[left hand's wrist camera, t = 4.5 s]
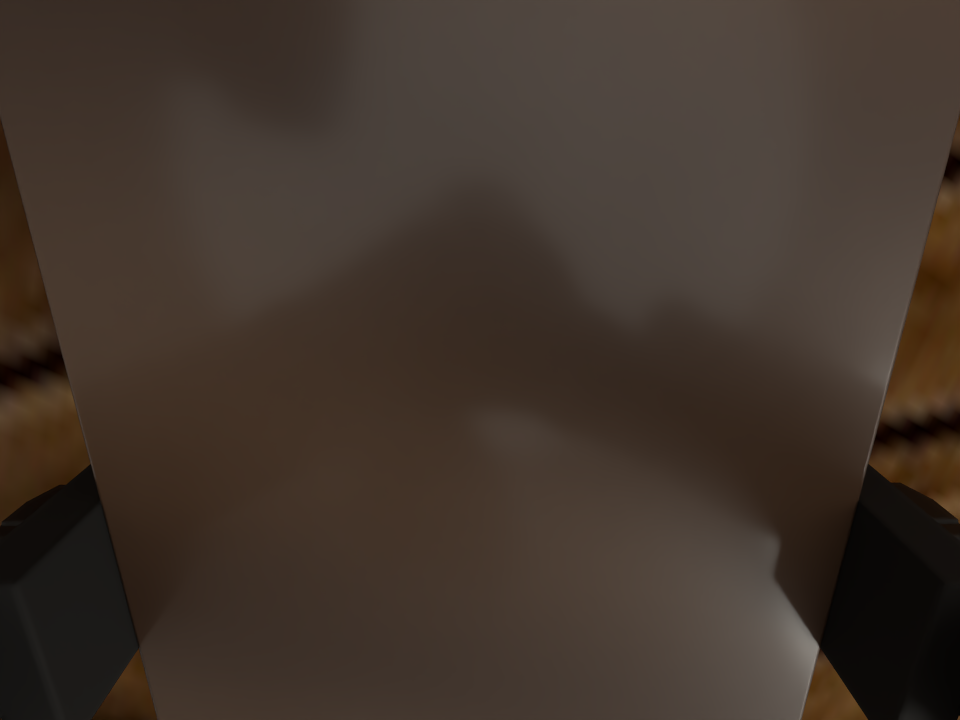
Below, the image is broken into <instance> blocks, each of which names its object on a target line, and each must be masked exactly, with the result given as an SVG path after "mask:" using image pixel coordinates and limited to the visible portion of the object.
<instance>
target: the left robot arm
mask: <svg viewBox="0 0 960 720" xmlns="http://www.w3.org/2000/svg"><path fill="white" fill-rule="evenodd" d="M138 648H139V647H138V643H137V639H136V635H135V631H134V627H133V624H132V620H131V616H130V612H129V608H128V604H127V601H126V597H125V593H124V589H123V585H122V581H121V578H120V574H119V570H118V566H117V562H116V559H115V555H114V551H113V547H112V543H111V539H110V536H109V532H108V528H107V524H106V520H105V516H104V513H103V509H102V505H101V501H100V497H99V494H98V490H97V486H96V482H95V478H94V474H93V471H92V467H91V464H90V465H89V466H88V467H87V468H86V469H84V470H83V471H82V472H81V473H80V474H78V475H77V476H76V477H75V478H74V479H73V480H71V481H70V482H69V483H68V484H67V485H59V486H57V487H55V488H53V489H51V490H49V491H47V492H45V493H43V494H41V495H39V496H37V497H35V498H33V499H31V500H30V501H28V502H26V503H25V504H24V505H22V506H21V507H20V508H19V509H17V510H16V511H15V512H14V513H12V514H11V515H10V516H9V517H7V518H6V519H5V520H4V521H2V525H1V526H0V718H1V719H2V720H91V719H92V717H93V716H94V714H95V713H96V711H97V710H98V708H99V707H100V705H101V704H102V702H103V701H104V699H105V698H106V696H107V695H108V693H109V692H110V690H111V689H112V687H113V686H114V684H115V683H116V681H117V680H118V678H119V677H120V675H121V674H122V672H123V671H124V669H125V668H126V666H127V665H128V663H129V662H130V660H131V659H132V657H133V656H134V654H135V653H136V651H137V650H138ZM820 648H821V649H822V651H823V652H824V654H825V655H826V657H827V658H828V660H829V661H830V663H831V664H832V666H833V667H834V669H835V670H836V672H837V673H838V675H839V676H840V678H841V679H842V681H843V682H844V684H845V685H846V687H847V688H848V690H849V691H850V693H851V694H852V696H853V697H854V699H855V700H856V702H857V703H858V705H859V706H860V708H861V709H862V711H863V712H864V714H865V715H866V717H867V718H868V720H957V719H958V716H960V524H959V523H958V519H957V518H955V517H954V516H953V515H952V514H950V513H949V512H948V511H947V510H945V509H944V508H943V507H942V506H940V505H939V504H938V503H937V502H935V501H934V500H933V499H931V498H929V497H927V496H925V495H923V494H921V493H919V492H917V491H915V490H913V489H911V488H909V487H907V486H905V485H904V484H902V483H890V482H889V481H888V480H887V479H886V478H884V477H883V476H882V475H881V474H880V473H878V472H877V471H876V470H875V469H874V468H873V467H871V466H870V465H869V464H868V466H867V470H866V474H865V478H864V482H863V485H862V489H861V493H860V497H859V501H858V505H857V508H856V512H855V516H854V520H853V524H852V527H851V531H850V535H849V539H848V543H847V547H846V550H845V554H844V558H843V562H842V566H841V570H840V573H839V577H838V581H837V585H836V589H835V593H834V596H833V600H832V604H831V608H830V612H829V615H828V619H827V623H826V627H825V631H824V635H823V638H822V642H821V646H820Z"/></svg>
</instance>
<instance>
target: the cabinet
mask: <svg viewBox="0 0 960 720" xmlns="http://www.w3.org/2000/svg"><path fill="white" fill-rule="evenodd" d="M959 114H960V0H0V119H1V122H2V126H3V130H4V134H5V138H6V142H7V145H8V149H9V153H10V157H11V161H12V165H13V168H14V172H15V176H16V180H17V184H18V188H19V191H20V195H21V199H22V203H23V207H24V210H25V214H26V218H27V222H28V226H29V230H30V233H31V237H32V241H33V245H34V249H35V253H36V256H37V260H38V264H39V268H40V272H41V275H42V279H43V283H44V287H45V291H46V295H47V298H48V302H49V306H50V310H51V314H52V318H53V321H54V325H55V329H56V333H57V337H58V341H59V344H60V348H61V352H62V356H63V360H64V363H65V367H66V371H67V375H68V379H69V383H70V386H71V390H72V394H73V398H74V402H75V406H76V409H77V413H78V417H79V421H80V425H81V428H82V432H83V436H84V440H85V444H86V448H87V451H88V455H89V459H90V463H91V467H92V471H93V474H94V478H95V482H96V486H97V490H98V494H99V497H100V501H101V505H102V509H103V513H104V516H105V520H106V524H107V528H108V532H109V536H110V539H111V543H112V547H113V551H114V555H115V559H116V562H117V566H118V570H119V574H120V578H121V581H122V585H123V589H124V593H125V597H126V601H127V604H128V608H129V612H130V616H131V620H132V624H133V627H134V631H135V635H136V639H137V643H138V647H139V650H140V654H141V658H142V662H143V666H144V669H145V673H146V677H147V681H148V685H149V689H150V692H151V696H152V700H153V704H154V708H155V712H156V715H157V719H158V720H801V719H802V715H803V711H804V707H805V703H806V700H807V696H808V692H809V688H810V684H811V680H812V677H813V673H814V669H815V665H816V661H817V658H818V654H819V650H820V646H821V642H822V638H823V635H824V631H825V627H826V623H827V619H828V615H829V612H830V608H831V604H832V600H833V596H834V593H835V589H836V585H837V581H838V577H839V573H840V570H841V566H842V562H843V558H844V554H845V550H846V547H847V543H848V539H849V535H850V531H851V527H852V524H853V520H854V516H855V512H856V508H857V505H858V501H859V497H860V493H861V489H862V485H863V482H864V478H865V474H866V470H867V466H868V462H869V459H870V455H871V451H872V447H873V443H874V440H875V436H876V432H877V428H878V424H879V420H880V417H881V413H882V409H883V405H884V401H885V397H886V394H887V390H888V386H889V382H890V378H891V375H892V371H893V367H894V363H895V359H896V355H897V352H898V348H899V344H900V340H901V336H902V332H903V329H904V325H905V321H906V317H907V313H908V310H909V306H910V302H911V298H912V294H913V290H914V287H915V283H916V279H917V275H918V271H919V267H920V264H921V260H922V256H923V252H924V248H925V245H926V241H927V237H928V233H929V229H930V225H931V222H932V218H933V214H934V210H935V206H936V202H937V199H938V195H939V191H940V187H941V183H942V179H943V176H944V172H945V168H946V164H947V160H948V157H949V153H950V149H951V145H952V141H953V137H954V134H955V130H956V126H957V122H958V118H959Z"/></svg>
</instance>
